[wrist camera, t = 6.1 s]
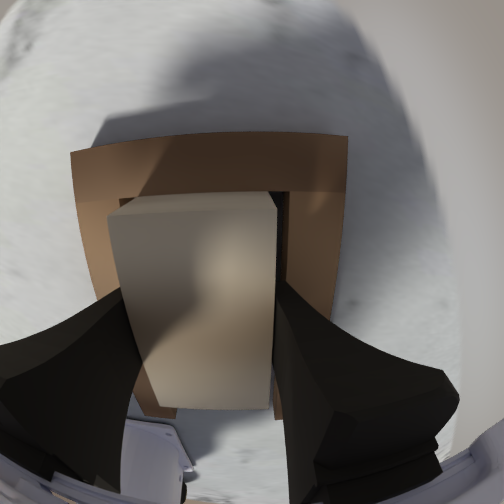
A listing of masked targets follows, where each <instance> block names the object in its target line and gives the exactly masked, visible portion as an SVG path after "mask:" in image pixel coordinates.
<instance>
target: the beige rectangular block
mask: <svg viewBox="0 0 504 504" xmlns="http://www.w3.org/2000/svg"><path fill="white" fill-rule="evenodd" d="M106 217H107V224H108V230H109V236H110V241H111V247H112V252H113V257H114V262H115V266H116V271H117V275H118V280H119V284H120V288H121V292H122V296H123V300H124V303H125V307H126V311H127V314H128V318H129V321H130V325H131V328H132V331H133V334H134V338H135V341H136V344H137V347H138V350H139V353H140V356H141V359H142V361H143V364H144V367H145V370H146V372H147V375H148V378H149V380H150V383H151V385H152V388H153V390H154V393H155V395H156V398H157V400H158V403H159V405H160V406H162V407H172V408H185V409H205V410H256V409H269V396H270V380H271V363H272V344H273V323H274V300H275V273H276V239H277V208H276V206H275V204H274V202H273V200H272V198H271V196H270V195H269V193H268V191H249V192H211V193H189V194H171V195H156V196H143V197H137V198H135V199H133V200H132V201H130V202H128V203H127V204H125V205H123V206H122V207H120V208H119V209H117V210H115V211H114V212H112V213H111V214H109V215H108V216H106Z"/></svg>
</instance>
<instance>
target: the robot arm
mask: <svg viewBox="0 0 504 504" xmlns="http://www.w3.org/2000/svg"><path fill="white" fill-rule="evenodd" d="M142 364H143V361H142V359H141V356H140V353H139V350H138V347H137V344H136V341H135V338H134V334H133V331H132V328H131V325H130V321H129V318H128V314H127V311H126V307H125V303H124V300H123V296H122V292H121V288H120V287H119V288H117V289H115V290H114V291H112V292H111V293H109V294H107V295H106V296H104V297H103V298H101V299H100V300H98V301H97V302H95V303H93V304H92V305H90V306H89V307H87V308H85V309H84V310H82V311H80V312H79V313H77V314H75V315H74V316H72V317H70V318H68V319H67V320H65V321H63V322H61V323H59V324H57V325H55V326H53V327H51V328H49V329H46V330H44V331H42V332H39V333H37V334H34V335H32V336H29V337H26V338H24V339H21V340H18V341H14V342H11V343H7V344H3V345H0V504H69V503H67V502H66V501H64V500H62V499H60V498H58V497H56V496H54V495H53V494H52V492H51V491H53V492H55V493H57V494H59V495H61V496H63V497H66V498H68V499H70V500H72V501H75V502H76V504H180V500H181V490H182V480H183V471H187V472H192V471H193V470H194V468H193V466H192V464H191V462H190V460H189V458H188V456H187V454H186V452H185V450H184V448H183V446H182V444H181V442H180V440H179V438H178V436H177V433H176V431H175V429H174V428H173V427H172V426H170V425H166V424H158V423H150V422H143V421H136V420H130V419H126V416H127V411H128V406H129V401H130V398H131V394H132V391H133V388H134V386H135V383H136V380H137V377H138V375H139V372H140V369H141V367H142ZM272 364H273V368H274V373H275V377H276V382H277V386H278V390H279V395H280V400H281V406H282V415H283V424H284V434H285V445H286V456H287V469H288V484H289V503H290V504H500V503H501V502H502V501H503V500H504V419H502V420H501V421H499V422H498V423H496V424H495V425H494V426H492V427H490V428H489V429H488V430H486V431H485V432H484V433H482V434H481V435H480V436H479V437H478V438H477V439H476V440H475V441H474V442H473V443H472V444H471V445H470V447H469V448H467V449H465V450H464V451H462V452H460V453H458V454H457V455H455V456H453V457H451V458H449V459H447V460H445V461H443V462H441V463H439V461H438V459H437V457H436V455H435V452H434V451H436V450H437V449H438V446H439V445H438V443H437V441H436V439H435V436H436V435H437V434H438V433H439V432H440V430H441V429H442V428H443V427H444V426H445V424H446V423H447V422H448V421H449V420H450V418H451V417H452V416H453V414H454V413H455V411H456V409H457V407H458V404H459V401H460V398H459V394H458V392H457V391H456V389H455V388H454V386H453V385H452V383H451V382H450V380H449V379H448V377H447V376H446V374H445V373H444V371H443V370H440V369H436V368H432V367H429V366H425V365H421V364H417V363H413V362H410V361H407V360H404V359H401V358H399V357H396V356H393V355H390V354H388V353H386V352H383V351H381V350H379V349H377V348H375V347H373V346H371V345H368V344H366V343H364V342H362V341H361V340H359V339H357V338H355V337H353V336H352V335H350V334H349V333H347V332H345V331H344V330H342V329H341V328H339V327H338V326H336V325H335V324H333V323H332V322H331V321H329V320H328V319H327V318H325V317H324V316H323V315H322V314H320V313H319V312H318V311H317V310H316V309H314V308H313V307H312V306H311V305H310V304H309V303H308V302H307V301H305V300H304V299H303V298H302V297H301V296H300V295H299V294H298V293H297V292H296V291H295V290H294V289H293V288H292V287H291V286H290V285H289V284H288V283H287V282H286V281H285V280H278V281H275V300H274V323H273V344H272Z"/></svg>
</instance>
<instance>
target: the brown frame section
mask: <svg viewBox="0 0 504 504" xmlns="http://www.w3.org/2000/svg"><path fill="white" fill-rule="evenodd" d="M347 154H348V136H339V135H328V134H315V133H297V132H217V133H199V134H185V135H174V136H164V137H156V138H147V139H140V140H133V141H126V142H120V143H114V144H108V145H103V146H98V147H93V148H88V149H83V150H78V151H74V152H70V156H71V169H72V179H73V188H74V195H75V203H76V209H77V216H78V221H79V227H80V232H81V237H82V242H83V247H84V251H85V256H86V260H87V264H88V268H89V272H90V276H91V280H92V283H93V287H94V291H95V294H96V297H97V301H98V300H100V299H101V298H103V297H104V296H106V295H107V294H109V293H111V292H112V291H114V290H115V289H117V288H119V287H120V284H119V280H118V275H117V271H116V266H115V262H114V257H113V252H112V247H111V241H110V236H109V230H108V224H107V217H106V216H108V215H109V214H111V213H112V212H114V211H115V210H117V209H119V208H120V207H122V206H123V205H125V204H127V203H128V202H130V201H132V200H133V199H134V197H143V196H156V195H171V194H189V193H211V192H249V191H283V220H282V252H281V277H280V280H285V281H286V282H287V283H288V284H289V285H290V286H291V287H292V288H293V289H294V290H295V291H296V292H297V293H298V294H299V295H300V296H301V297H302V298H303V299H304V300H305V301H307V302H308V303H309V304H310V305H311V306H312V307H313V308H314V309H316V310H317V311H318V312H319V313H320V314H322V315H323V316H324V317H325V318H327V319H328V320H329V321H330V315H331V310H332V304H333V298H334V291H335V285H336V278H337V270H338V263H339V255H340V247H341V238H342V228H343V218H344V206H345V193H346V177H347ZM133 393H134V395H135V397H136V399H137V401H138V403H139V405H140V407H141V409H142V411H143V413H144V415H145V416H151V417H159V418H169V419H175V418H176V412H177V408H172V407H162V406H160V405H159V403H158V400H157V398H156V395H155V393H154V390H153V388H152V385H151V383H150V380H149V378H148V375H147V372H146V370H145V367H144V364H142V367H141V369H140V372H139V375H138V377H137V380H136V383H135V386H134V388H133ZM273 408H274V417H275V420H282V419H283V415H282V406H281V400H280V395H279V390H278V386H277V382H276V377H275V379H274V392H273Z"/></svg>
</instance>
